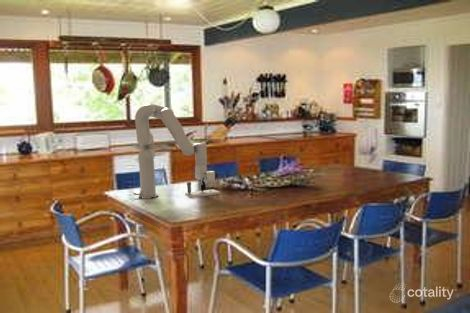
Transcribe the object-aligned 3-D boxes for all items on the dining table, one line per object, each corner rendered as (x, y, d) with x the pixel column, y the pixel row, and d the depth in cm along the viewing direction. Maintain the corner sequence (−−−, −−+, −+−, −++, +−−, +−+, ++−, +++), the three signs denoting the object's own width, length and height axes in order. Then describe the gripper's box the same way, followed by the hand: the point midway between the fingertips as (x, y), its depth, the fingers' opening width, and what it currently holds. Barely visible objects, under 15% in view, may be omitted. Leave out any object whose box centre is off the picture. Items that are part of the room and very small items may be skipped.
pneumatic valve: (218, 186, 350) (217, 169, 348) (202, 188, 345) (201, 171, 343) (215, 185, 355) (214, 168, 353) (199, 187, 350) (198, 170, 349)
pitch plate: (190, 197, 315) (189, 183, 314) (184, 195, 324) (184, 180, 323) (219, 194, 324) (219, 179, 323) (213, 191, 333) (212, 177, 332)
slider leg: (201, 192, 322) (200, 181, 321) (199, 191, 325) (198, 180, 324) (205, 191, 323) (204, 181, 322) (203, 191, 326) (203, 180, 325)
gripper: (191, 161, 327) (192, 188, 329) (200, 163, 312) (201, 192, 315) (201, 160, 330) (202, 187, 333) (211, 162, 316) (212, 191, 318)
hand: (202, 189), depth 324 cm, fingers closed on slider leg, 3 cm apart
